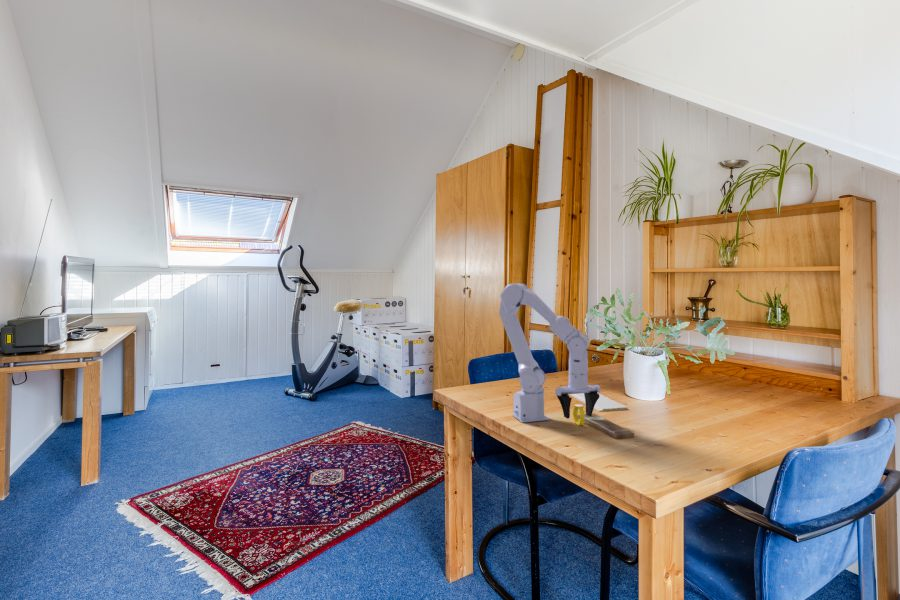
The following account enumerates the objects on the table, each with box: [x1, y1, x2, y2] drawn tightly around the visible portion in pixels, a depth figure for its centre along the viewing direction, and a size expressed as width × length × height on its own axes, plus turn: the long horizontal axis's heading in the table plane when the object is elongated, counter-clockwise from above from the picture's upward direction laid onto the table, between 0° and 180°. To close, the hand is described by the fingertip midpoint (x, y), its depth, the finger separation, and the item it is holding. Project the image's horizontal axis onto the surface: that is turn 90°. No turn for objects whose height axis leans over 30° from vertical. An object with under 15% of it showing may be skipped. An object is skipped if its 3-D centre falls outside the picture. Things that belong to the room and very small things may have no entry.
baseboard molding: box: [558, 384, 628, 412], centre depth 169 cm, size 31×3×12 cm
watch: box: [572, 404, 586, 427], centre depth 140 cm, size 6×3×6 cm, turn 7°
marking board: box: [577, 412, 635, 440], centre depth 137 cm, size 6×20×1 cm, turn 15°
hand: (577, 416), depth 140 cm, fingers open, 7 cm apart
